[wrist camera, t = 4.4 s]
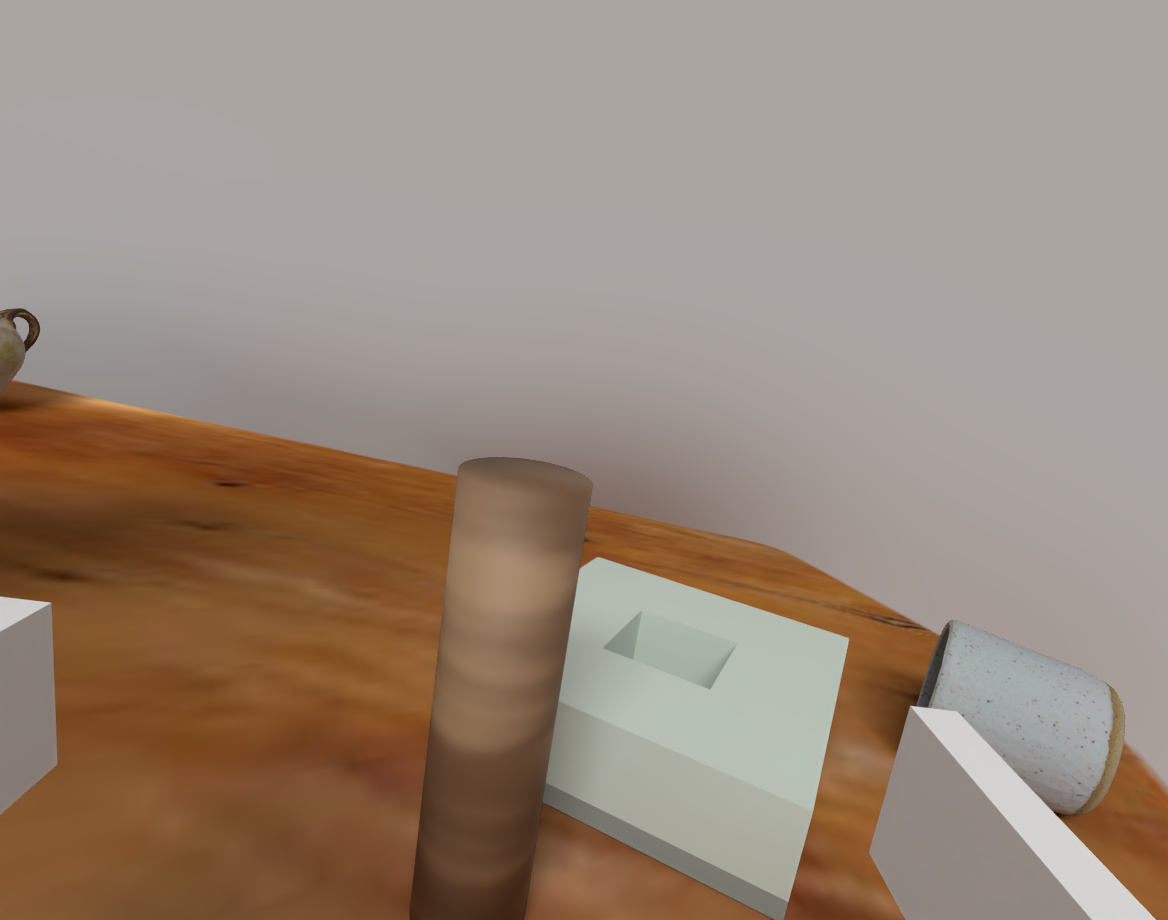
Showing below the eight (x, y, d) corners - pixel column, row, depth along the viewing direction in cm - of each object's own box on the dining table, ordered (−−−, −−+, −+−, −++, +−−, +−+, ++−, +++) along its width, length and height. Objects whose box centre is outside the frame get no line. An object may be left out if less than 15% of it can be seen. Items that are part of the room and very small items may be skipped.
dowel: (482, 989, 21) (553, 506, 17) (384, 923, 22) (429, 469, 19) (544, 896, 24) (614, 480, 21) (456, 845, 26) (506, 451, 22)
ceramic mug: (1094, 860, 31) (1152, 713, 29) (902, 780, 34) (944, 645, 32) (1058, 746, 40) (1100, 630, 38) (910, 692, 43) (943, 584, 42)
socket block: (782, 923, 25) (812, 810, 24) (439, 749, 31) (449, 654, 30) (828, 715, 39) (849, 638, 38) (586, 624, 45) (597, 556, 44)
